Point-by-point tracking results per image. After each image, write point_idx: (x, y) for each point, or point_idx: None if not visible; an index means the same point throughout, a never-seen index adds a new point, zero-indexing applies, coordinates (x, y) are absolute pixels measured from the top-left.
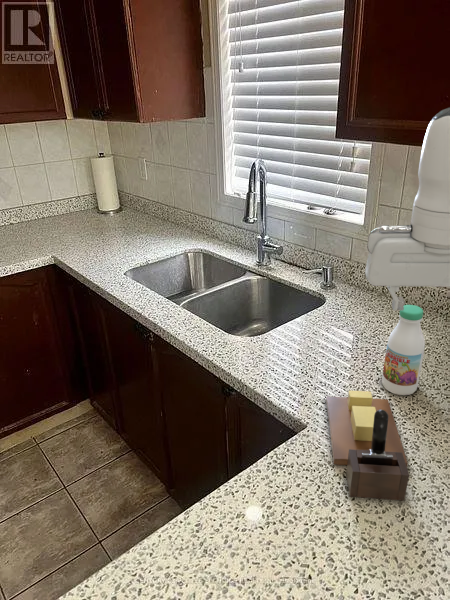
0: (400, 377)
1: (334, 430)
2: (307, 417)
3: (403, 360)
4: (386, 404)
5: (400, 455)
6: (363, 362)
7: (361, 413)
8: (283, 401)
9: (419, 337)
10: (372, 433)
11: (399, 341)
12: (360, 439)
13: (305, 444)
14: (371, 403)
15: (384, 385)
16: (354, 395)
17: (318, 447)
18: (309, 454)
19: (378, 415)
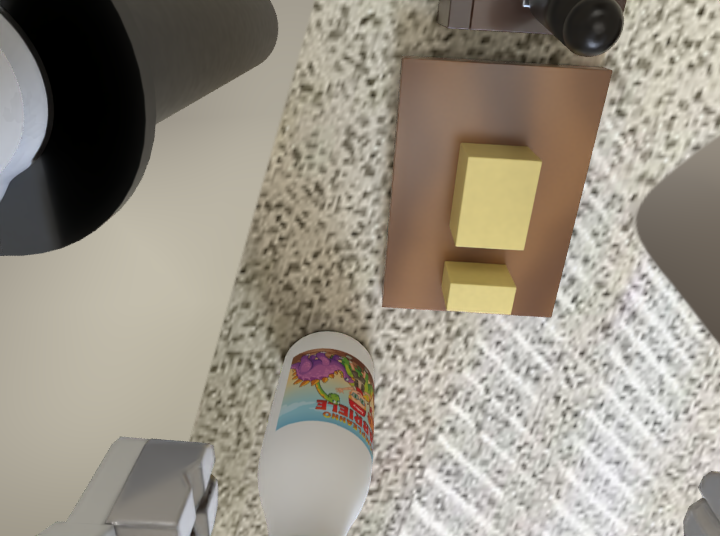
0: (340, 367)
1: (573, 184)
2: (618, 248)
3: (335, 408)
4: (392, 287)
5: (458, 12)
6: (397, 449)
7: (506, 217)
8: (666, 308)
9: (280, 481)
10: (485, 151)
11: (348, 469)
12: (512, 146)
13: (659, 144)
14: (448, 273)
15: (372, 362)
16: (501, 293)
17: (625, 133)
18: (661, 105)
19: (619, 11)
